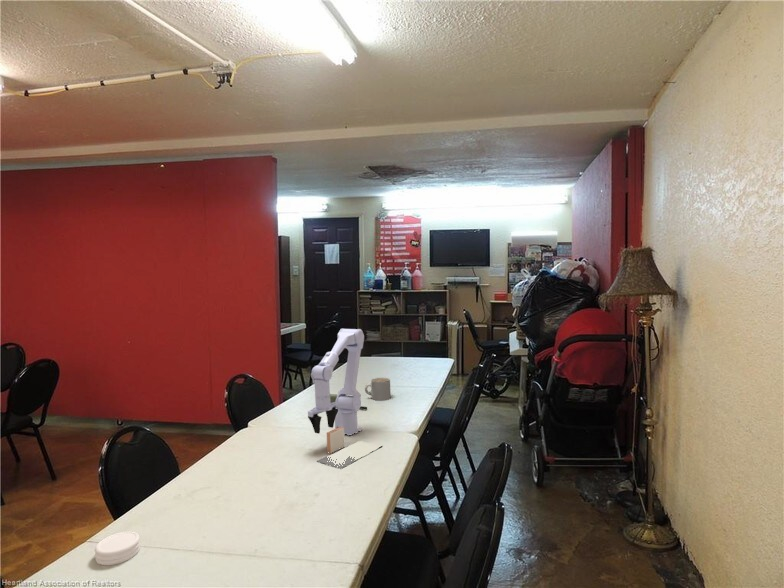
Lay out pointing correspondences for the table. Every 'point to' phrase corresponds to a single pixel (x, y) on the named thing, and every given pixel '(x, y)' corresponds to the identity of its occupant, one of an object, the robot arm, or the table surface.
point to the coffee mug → (379, 389)
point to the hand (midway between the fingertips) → (324, 429)
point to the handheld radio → (334, 396)
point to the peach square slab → (335, 439)
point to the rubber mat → (325, 459)
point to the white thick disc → (117, 548)
